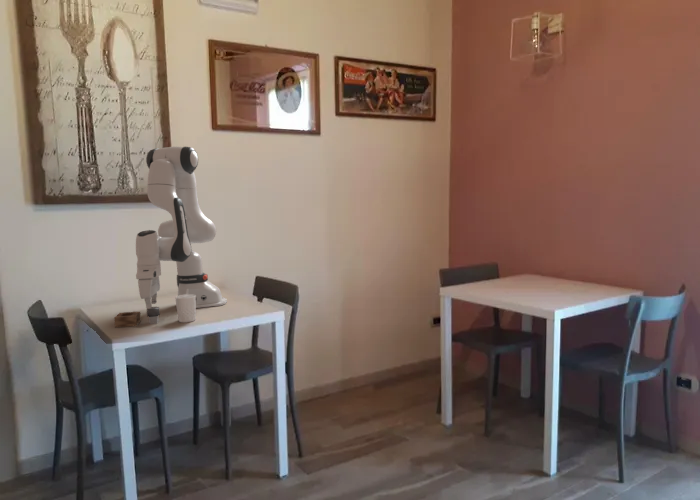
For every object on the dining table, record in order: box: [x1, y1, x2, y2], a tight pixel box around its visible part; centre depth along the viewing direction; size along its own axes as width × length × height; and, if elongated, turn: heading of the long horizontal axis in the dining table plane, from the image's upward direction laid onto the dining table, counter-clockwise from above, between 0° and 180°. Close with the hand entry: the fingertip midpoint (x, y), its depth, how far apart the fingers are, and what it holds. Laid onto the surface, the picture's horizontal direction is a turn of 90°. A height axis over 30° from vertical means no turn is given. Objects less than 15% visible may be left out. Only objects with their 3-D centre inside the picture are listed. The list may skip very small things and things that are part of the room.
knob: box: [146, 306, 161, 325], centre depth 228 cm, size 5×5×6 cm
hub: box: [113, 311, 142, 328], centre depth 227 cm, size 8×8×4 cm
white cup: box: [175, 294, 197, 323], centre depth 229 cm, size 8×8×10 cm
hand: (151, 305), depth 226 cm, fingers open, 8 cm apart
